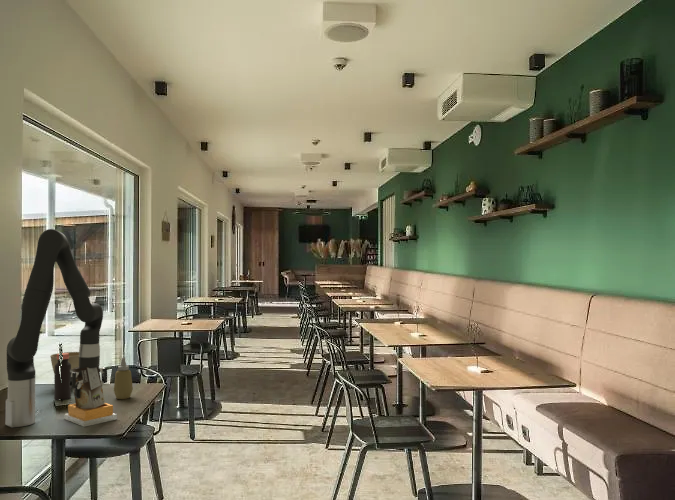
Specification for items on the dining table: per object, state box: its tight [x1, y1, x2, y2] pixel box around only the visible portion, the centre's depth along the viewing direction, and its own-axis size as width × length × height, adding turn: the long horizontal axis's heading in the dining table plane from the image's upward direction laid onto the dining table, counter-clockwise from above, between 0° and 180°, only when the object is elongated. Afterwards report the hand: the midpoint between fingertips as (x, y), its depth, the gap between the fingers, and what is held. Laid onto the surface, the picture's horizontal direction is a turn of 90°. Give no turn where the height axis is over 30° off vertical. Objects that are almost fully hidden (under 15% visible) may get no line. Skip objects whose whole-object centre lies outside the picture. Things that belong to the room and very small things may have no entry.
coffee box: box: [70, 366, 106, 409], centre depth 225 cm, size 9×6×16 cm
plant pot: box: [50, 351, 79, 372], centre depth 282 cm, size 15×15×16 cm
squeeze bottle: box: [113, 357, 134, 400], centre depth 259 cm, size 8×8×18 cm
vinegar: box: [53, 352, 72, 401], centre depth 258 cm, size 7×7×20 cm
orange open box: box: [63, 402, 118, 428], centre depth 225 cm, size 13×16×6 cm
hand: (88, 396), depth 225 cm, fingers closed on coffee box, 8 cm apart
